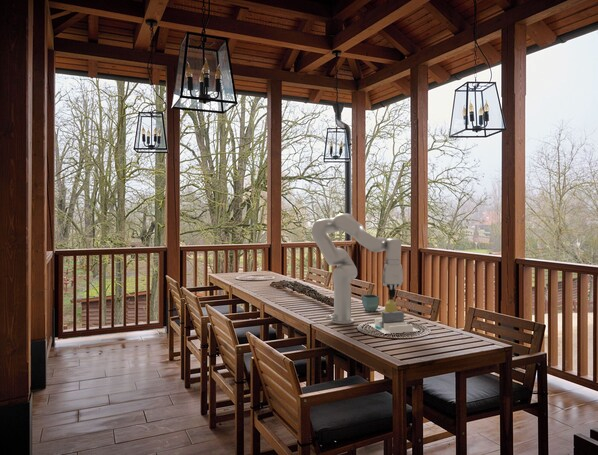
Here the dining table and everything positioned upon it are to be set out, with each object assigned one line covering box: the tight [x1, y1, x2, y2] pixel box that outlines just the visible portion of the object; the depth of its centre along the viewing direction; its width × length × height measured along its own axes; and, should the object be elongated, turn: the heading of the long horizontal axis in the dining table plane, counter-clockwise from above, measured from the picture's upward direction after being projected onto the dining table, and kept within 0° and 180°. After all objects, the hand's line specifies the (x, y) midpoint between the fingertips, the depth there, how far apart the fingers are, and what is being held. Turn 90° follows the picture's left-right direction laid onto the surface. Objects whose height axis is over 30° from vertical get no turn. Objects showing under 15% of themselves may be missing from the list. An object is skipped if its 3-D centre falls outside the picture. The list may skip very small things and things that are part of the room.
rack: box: [367, 317, 420, 334], centre depth 247 cm, size 20×20×4 cm
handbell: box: [380, 295, 399, 316], centre depth 279 cm, size 12×12×25 cm
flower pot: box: [361, 294, 381, 312], centre depth 291 cm, size 9×9×9 cm
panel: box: [381, 310, 405, 328], centre depth 247 cm, size 11×3×8 cm, turn 106°
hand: (391, 296), depth 247 cm, fingers closed
